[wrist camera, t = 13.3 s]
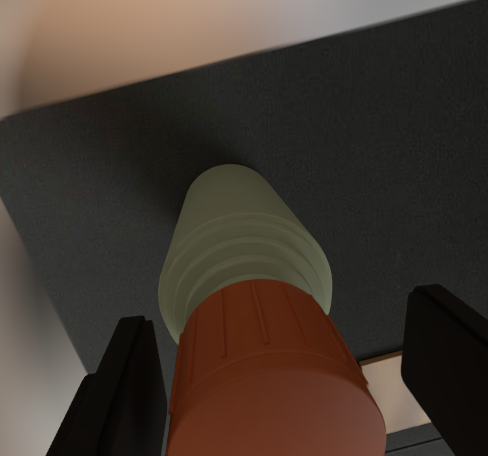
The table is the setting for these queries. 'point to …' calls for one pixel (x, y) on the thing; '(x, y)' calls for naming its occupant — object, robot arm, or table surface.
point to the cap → (269, 380)
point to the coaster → (392, 393)
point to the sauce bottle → (236, 244)
